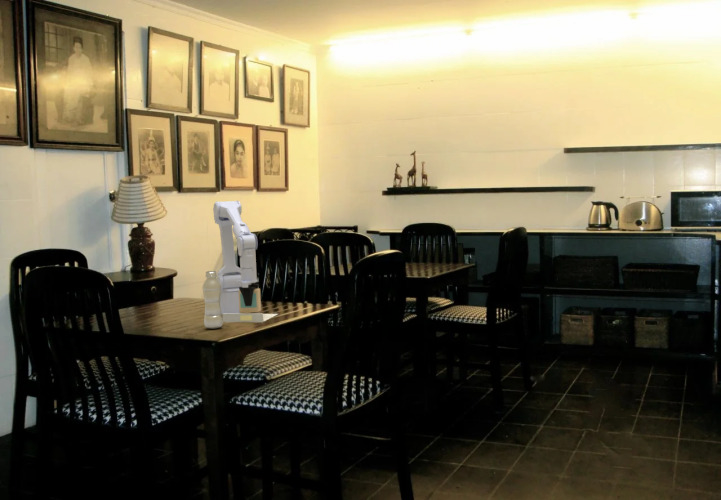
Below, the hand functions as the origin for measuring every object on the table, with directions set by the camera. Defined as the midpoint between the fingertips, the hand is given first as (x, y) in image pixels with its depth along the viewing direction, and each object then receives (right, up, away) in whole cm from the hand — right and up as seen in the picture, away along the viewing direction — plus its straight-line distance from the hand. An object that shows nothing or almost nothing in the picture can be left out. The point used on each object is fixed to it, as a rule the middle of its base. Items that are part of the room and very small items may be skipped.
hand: (250, 304), depth 268 cm
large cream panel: (0, -6, +4) cm, 7 cm away
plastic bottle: (-11, -8, -12) cm, 18 cm away
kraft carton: (0, -2, 0) cm, 2 cm away
